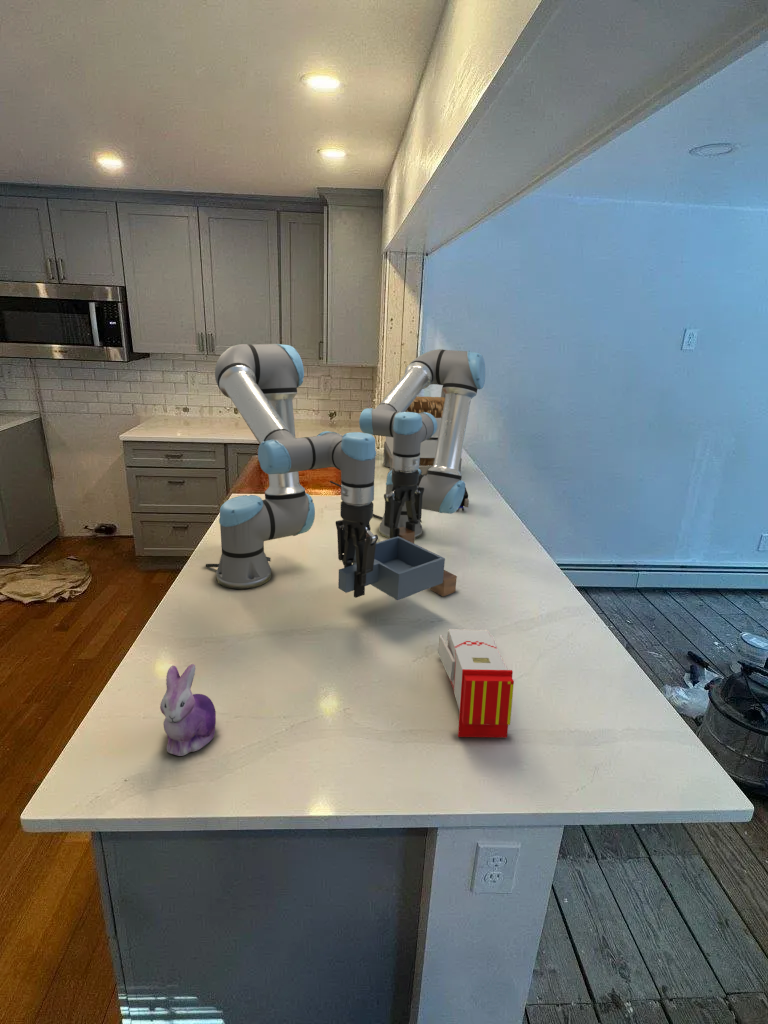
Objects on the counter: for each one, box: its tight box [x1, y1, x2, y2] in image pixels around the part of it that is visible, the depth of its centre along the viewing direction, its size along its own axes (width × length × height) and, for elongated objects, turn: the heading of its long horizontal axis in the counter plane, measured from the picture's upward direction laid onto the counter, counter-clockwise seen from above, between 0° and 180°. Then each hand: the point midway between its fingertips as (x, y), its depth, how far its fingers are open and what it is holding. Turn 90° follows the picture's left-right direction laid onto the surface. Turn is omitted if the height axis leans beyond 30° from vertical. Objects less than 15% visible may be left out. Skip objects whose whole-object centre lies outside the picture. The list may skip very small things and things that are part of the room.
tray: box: [337, 536, 446, 601], centre depth 142 cm, size 18×26×7 cm
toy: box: [437, 628, 515, 738], centre depth 117 cm, size 12×13×30 cm
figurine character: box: [458, 486, 470, 512], centre depth 229 cm, size 7×8×15 cm
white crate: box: [383, 389, 463, 474], centre depth 268 cm, size 34×33×41 cm
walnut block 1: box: [389, 527, 415, 544], centre depth 164 cm, size 5×5×5 cm
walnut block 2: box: [430, 569, 458, 598], centre depth 160 cm, size 5×5×5 cm
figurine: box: [159, 663, 217, 757], centre depth 100 cm, size 9×10×15 cm
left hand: (354, 592), depth 138 cm, fingers closed on tray, 3 cm apart
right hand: (401, 545), depth 165 cm, fingers closed on walnut block 1, 5 cm apart
